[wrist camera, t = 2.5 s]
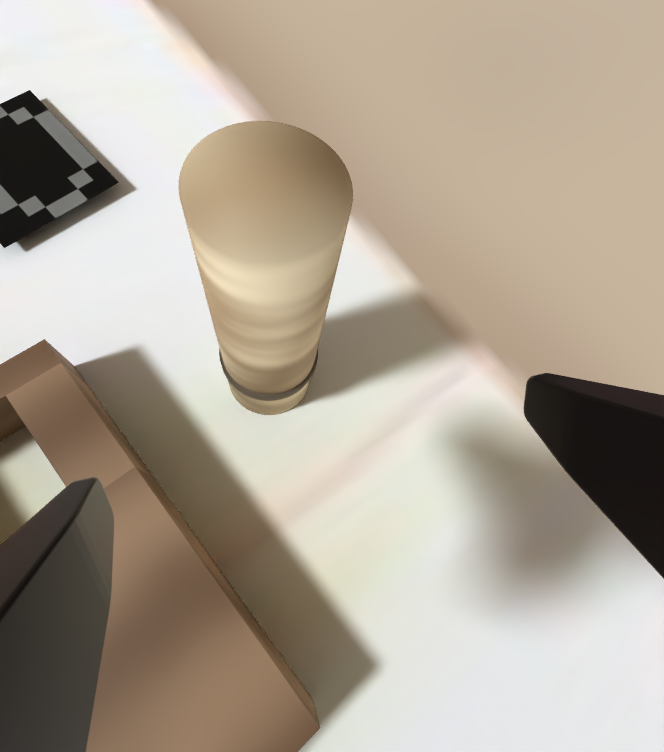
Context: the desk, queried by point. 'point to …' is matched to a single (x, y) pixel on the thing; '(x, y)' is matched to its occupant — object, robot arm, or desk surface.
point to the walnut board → (157, 594)
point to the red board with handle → (41, 168)
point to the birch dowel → (266, 251)
